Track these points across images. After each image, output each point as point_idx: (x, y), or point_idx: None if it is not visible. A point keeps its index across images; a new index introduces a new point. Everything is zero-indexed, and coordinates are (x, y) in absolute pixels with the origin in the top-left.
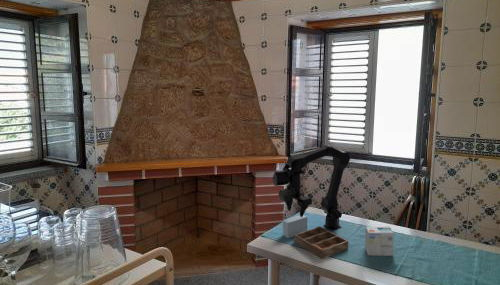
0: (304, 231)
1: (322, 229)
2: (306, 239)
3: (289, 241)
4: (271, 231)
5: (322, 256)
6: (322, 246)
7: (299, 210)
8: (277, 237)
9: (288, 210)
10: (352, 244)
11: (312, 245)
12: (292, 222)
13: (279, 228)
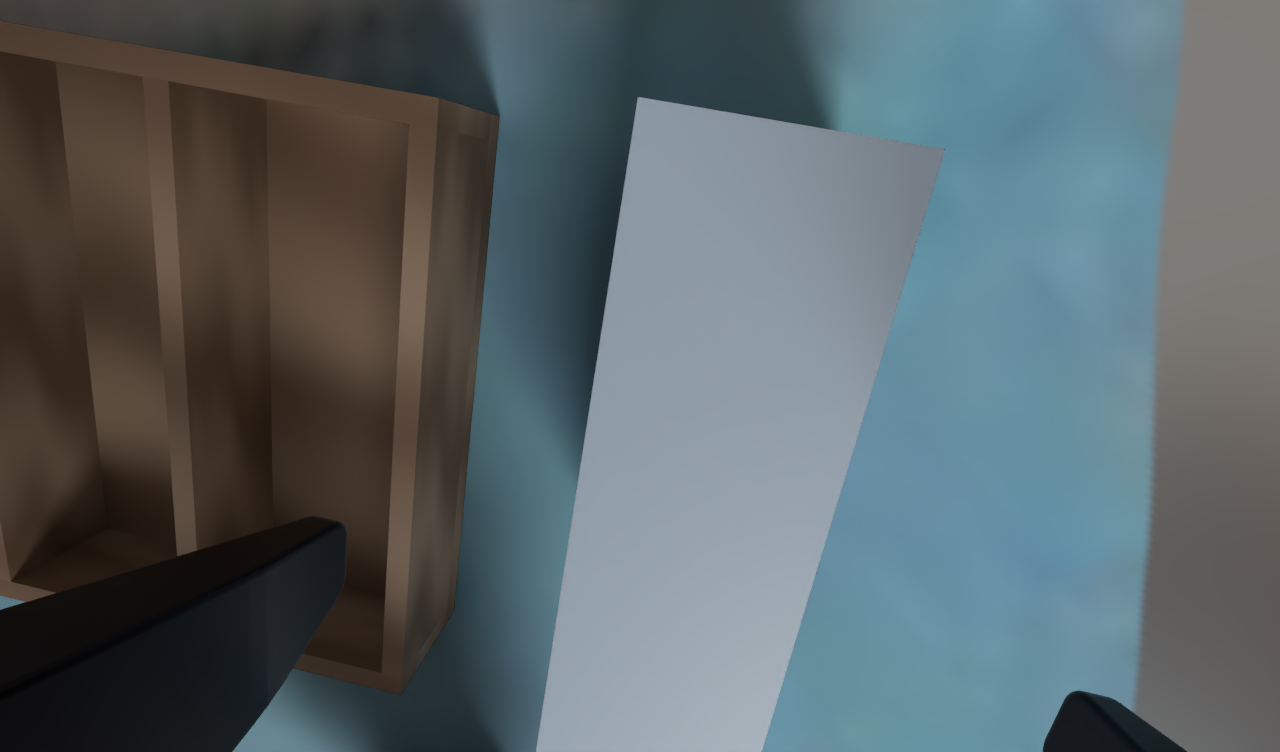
0: (418, 374)
1: (323, 644)
2: (154, 132)
3: (574, 62)
4: (1154, 119)
5: None
6: (30, 255)
7: (14, 684)
8: (864, 4)
9: (1106, 702)
10: (12, 602)
11: None
12: (611, 297)
13: (1084, 341)
